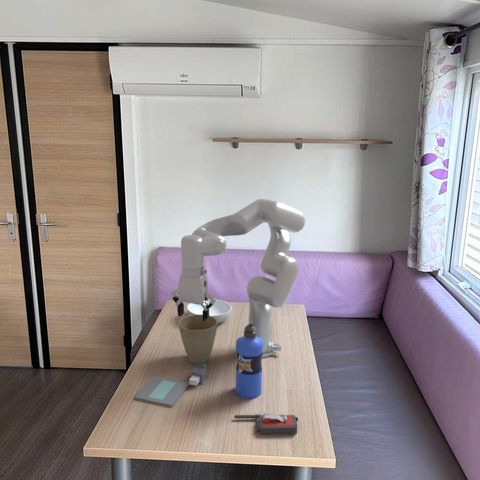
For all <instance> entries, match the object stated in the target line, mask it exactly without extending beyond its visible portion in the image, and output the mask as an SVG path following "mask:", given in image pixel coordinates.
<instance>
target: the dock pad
mask: <svg viewBox="0 0 480 480" xmlns="http://www.w3.org/2000/svg"><path fill="white" fill-rule="evenodd" d="M189 386H190V384H189V382H186V381H181V380H176V379H171V378H166V377H161V376H156V375H154V376H152V377H151V378H150V380H149V381H148V382H147V383H146V384H145V385H144V386H143V387H142V388H141V389H140V390H139V391H138V392H137V393H136V394H135V396H134V397H133V399H134V400H137V401H142V402H145V403H146V402H147V403H151V404H155V405H159V406H166V407H169V408H173V407H174V406H175V405H176V403H177V402H178V401H179V399H180V398H181V397H182V395H183V394H184V393H185V392H186V390H187V389H188V387H189Z"/></svg>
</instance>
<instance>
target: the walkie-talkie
mask: <svg viewBox="0 0 480 480" xmlns="http://www.w3.org/2000/svg"><path fill="white" fill-rule="evenodd" d="M234 419H256V430H257V432H259V434H260V435H262V436H274V435H275V436H276V435H287V436H288V435H292V436H293V435H296V434H298V423H297V422H298V421H299V418H298V416H297V417H296V415H294V414H277V413H275V412H266V411H259V412H258V413H257V414H235V415H234Z"/></svg>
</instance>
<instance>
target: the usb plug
mask: <svg viewBox="0 0 480 480" xmlns="http://www.w3.org/2000/svg"><path fill="white" fill-rule="evenodd" d="M207 378H208V365H207V364H206V363H199V364H196V365H195V366H194V367H193V369H191V371H190V378H189V381H188V383H189V385H190V386H191V385H192V386H198V385H201V386H202V385H203V383H204V382H205V381H206V380H207Z"/></svg>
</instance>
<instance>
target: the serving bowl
mask: <svg viewBox="0 0 480 480" xmlns="http://www.w3.org/2000/svg"><path fill="white" fill-rule="evenodd" d="M207 302H208V303H210V300H209V299H208V300H207ZM232 309H233V307H232V305H231V304H230V303H229V302H227V301H225V300H221V299H217V298H216V301H215V303H214V305H213V306H211V307H210V308H209V316H212V317H214V318H215V319H217V324H220V323H223V322H225V321H226V320H227V319H229V317H230V316H231V313H232ZM186 310H187V313H188V316H190V315H197V314H202V315H203V310H204V309H203V307H202V306H201V305H198V304H192V303H187V306H186Z"/></svg>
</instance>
